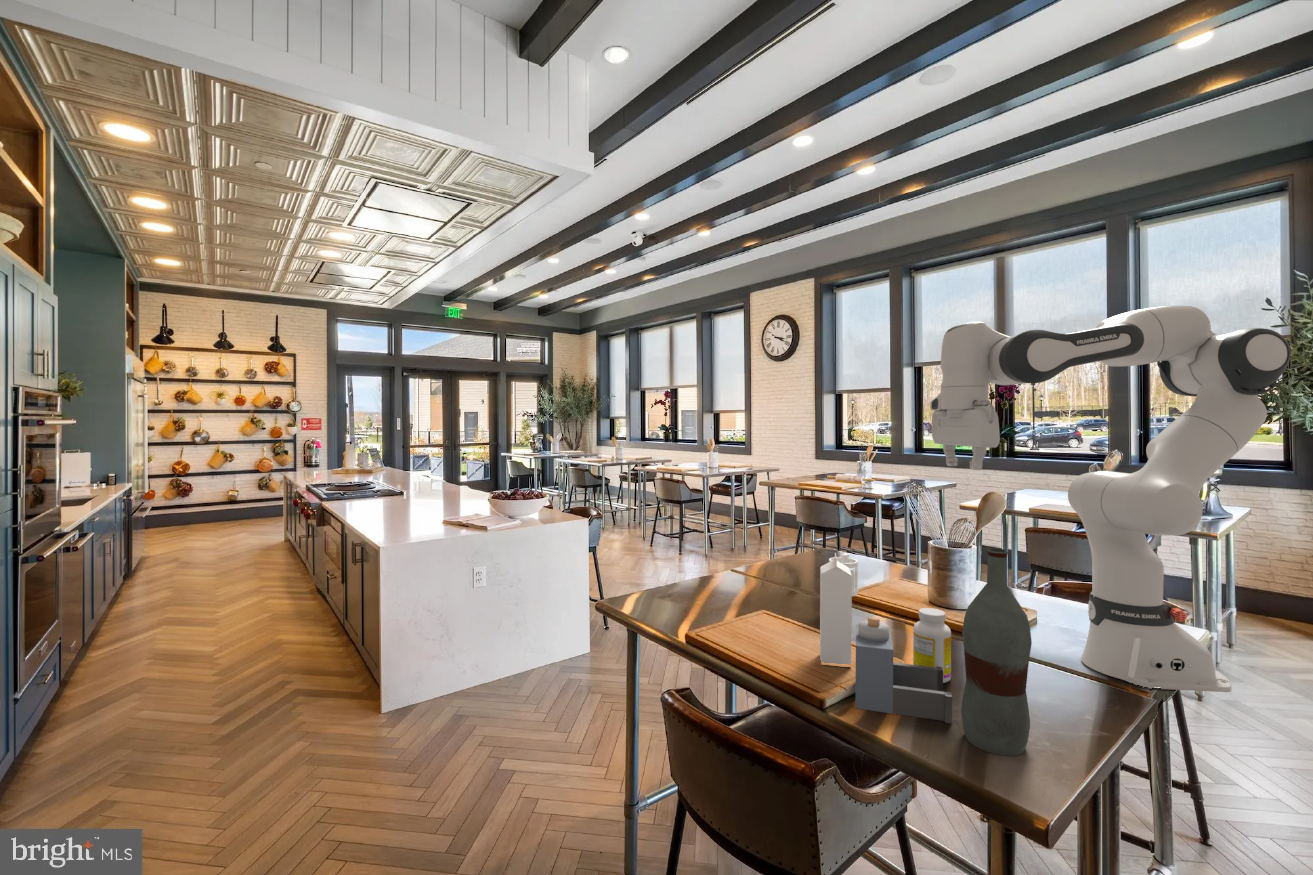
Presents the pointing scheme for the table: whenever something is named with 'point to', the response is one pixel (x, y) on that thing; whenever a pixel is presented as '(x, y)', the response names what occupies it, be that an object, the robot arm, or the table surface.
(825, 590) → the milk
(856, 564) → the white container
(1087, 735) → the table surface
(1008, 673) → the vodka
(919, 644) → the supplement bottle
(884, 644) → the grey bottle caddy
